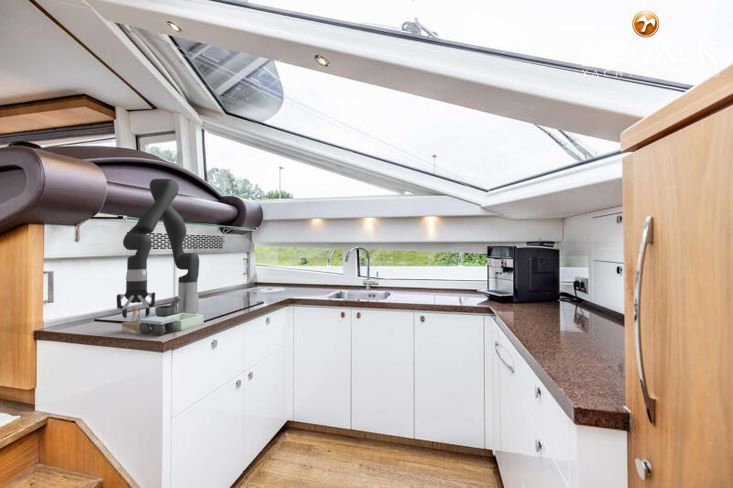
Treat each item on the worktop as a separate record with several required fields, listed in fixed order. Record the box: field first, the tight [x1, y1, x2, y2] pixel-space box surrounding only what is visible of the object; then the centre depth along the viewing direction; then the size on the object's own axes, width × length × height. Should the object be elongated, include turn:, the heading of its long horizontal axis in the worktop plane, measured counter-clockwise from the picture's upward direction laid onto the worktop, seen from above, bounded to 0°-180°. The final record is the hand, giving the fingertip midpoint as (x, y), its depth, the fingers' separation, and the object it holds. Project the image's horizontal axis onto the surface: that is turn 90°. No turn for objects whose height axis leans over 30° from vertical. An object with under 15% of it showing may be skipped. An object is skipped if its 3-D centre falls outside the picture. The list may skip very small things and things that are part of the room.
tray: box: [163, 313, 205, 332], centre depth 150 cm, size 13×13×4 cm
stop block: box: [121, 319, 150, 334], centre depth 142 cm, size 7×7×4 cm
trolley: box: [139, 315, 176, 336], centre depth 139 cm, size 13×7×6 cm, turn 74°
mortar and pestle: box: [154, 295, 181, 317], centre depth 162 cm, size 11×9×12 cm
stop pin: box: [132, 306, 141, 323], centre depth 142 cm, size 2×2×10 cm
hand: (136, 317), depth 142 cm, fingers open, 7 cm apart
